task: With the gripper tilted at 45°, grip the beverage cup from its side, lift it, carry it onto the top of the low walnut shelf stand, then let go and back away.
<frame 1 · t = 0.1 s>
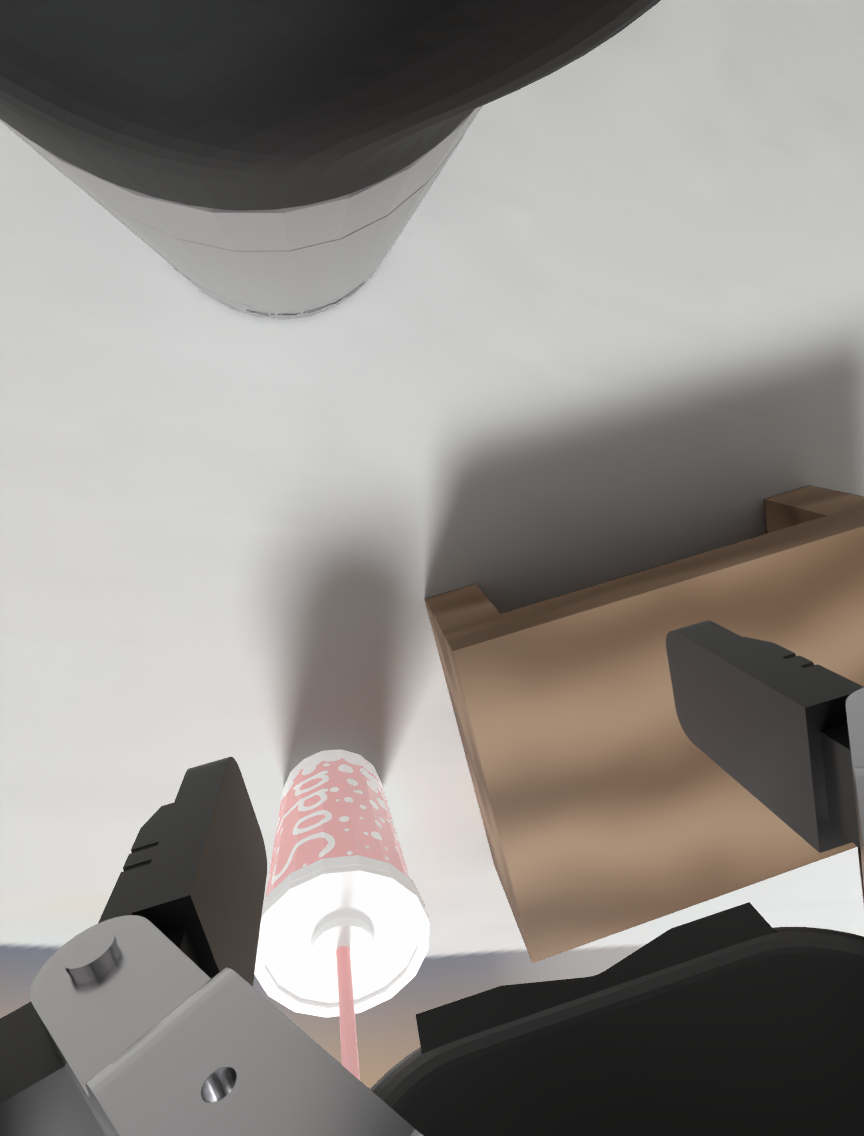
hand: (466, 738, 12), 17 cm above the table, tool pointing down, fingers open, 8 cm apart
beverage cup: (332, 790, 32), on the table
walnut shelf stand: (646, 683, 33), on the table
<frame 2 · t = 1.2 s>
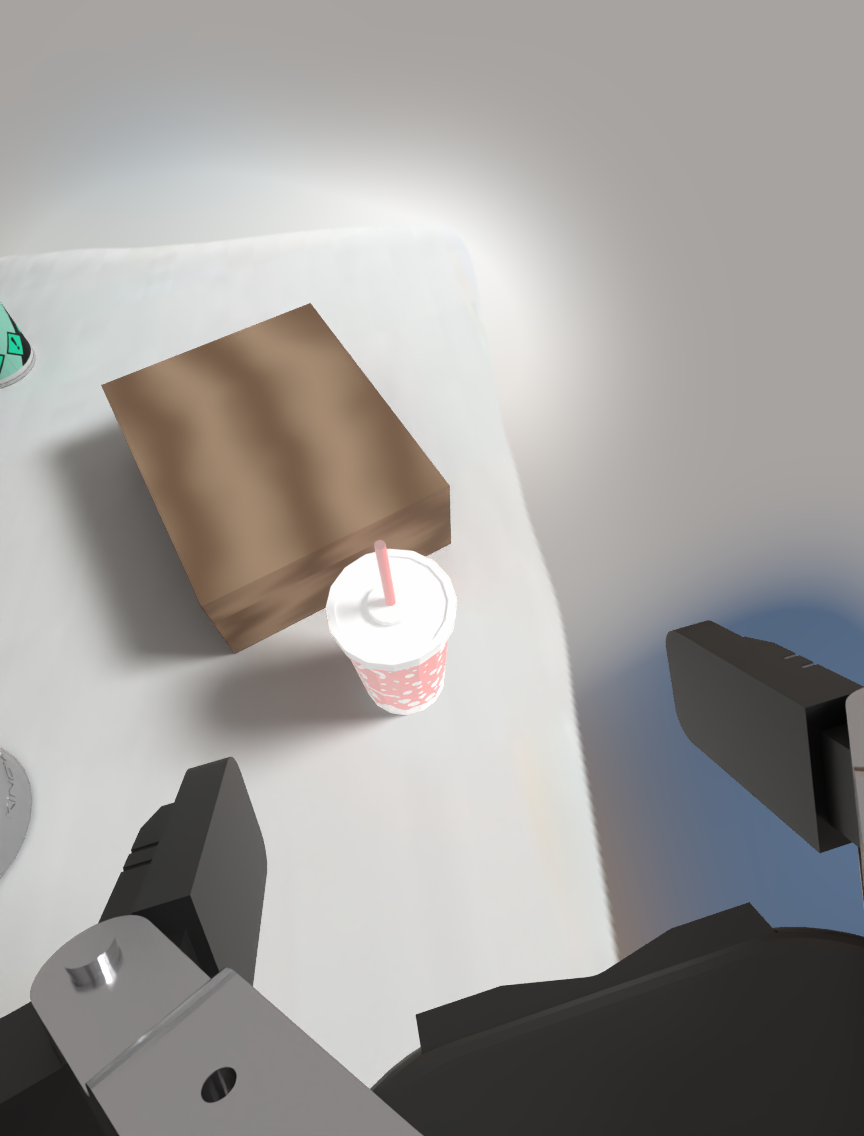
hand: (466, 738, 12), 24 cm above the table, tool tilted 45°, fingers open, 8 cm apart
beverage cup: (405, 678, 39), on the table
walnut shelf stand: (286, 492, 46), on the table
spray can: (2, 367, 54), on the table
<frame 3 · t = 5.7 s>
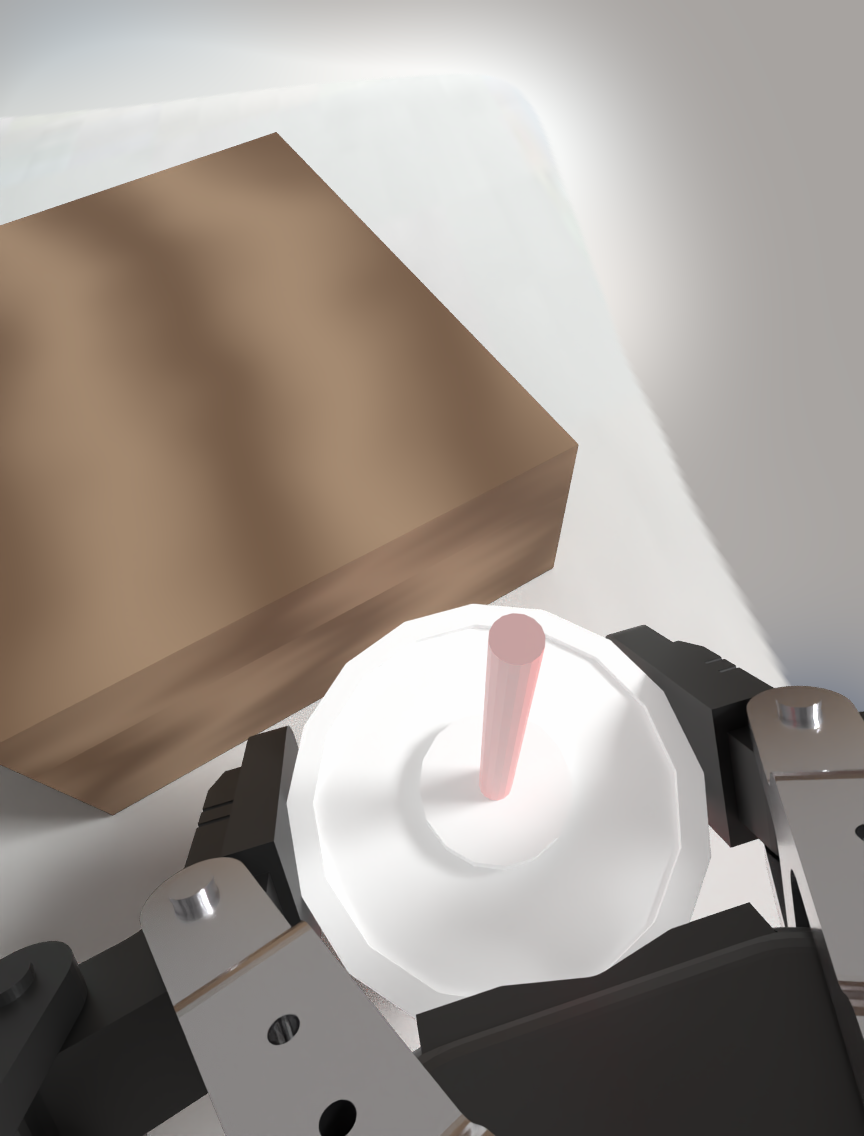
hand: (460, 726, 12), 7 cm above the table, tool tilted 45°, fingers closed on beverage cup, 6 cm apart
beverage cup: (482, 872, 18), on the table, touching gripper
walnut shelf stand: (234, 475, 25), on the table
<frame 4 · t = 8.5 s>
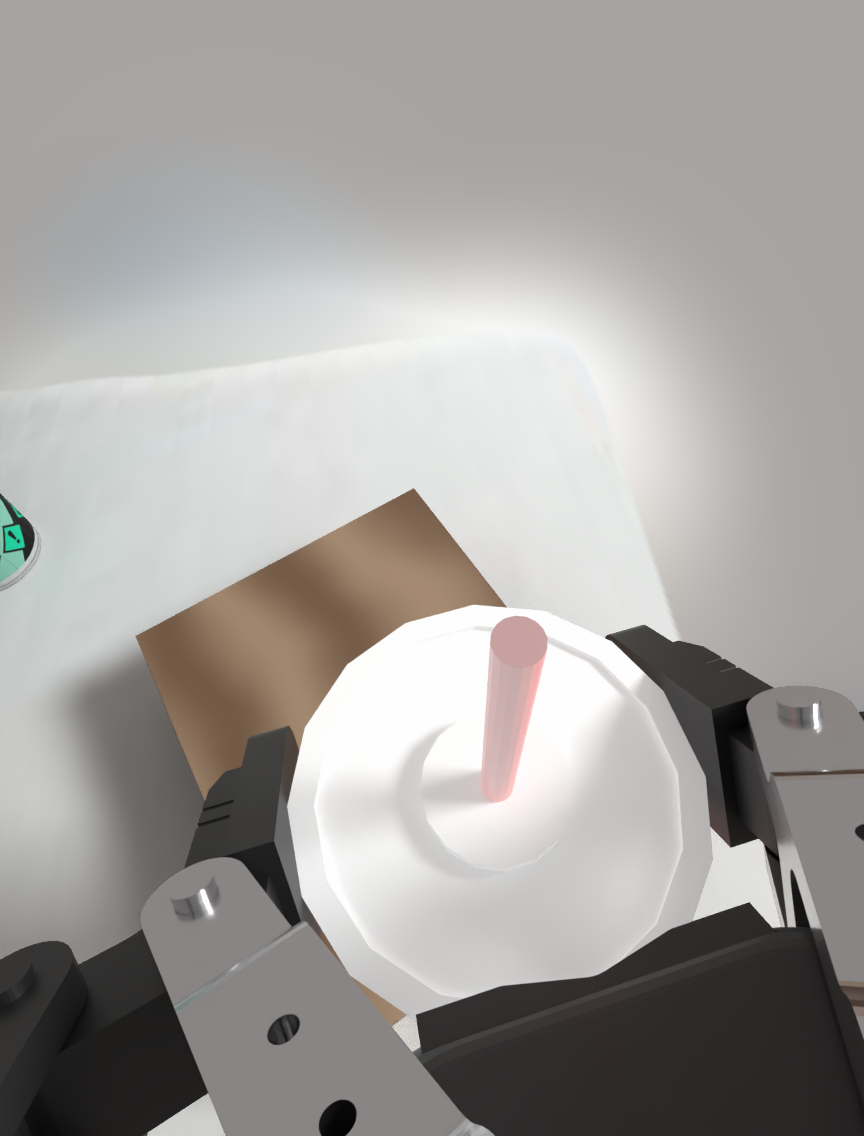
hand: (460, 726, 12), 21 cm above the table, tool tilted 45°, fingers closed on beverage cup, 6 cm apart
beverage cup: (483, 872, 18), point 14 cm above the table, touching gripper
walnut shelf stand: (393, 757, 33), on the table
when the fingers open (14 cm above the table, at t = 11.6 s): beverage cup drops 1 cm, resting on walnut shelf stand.
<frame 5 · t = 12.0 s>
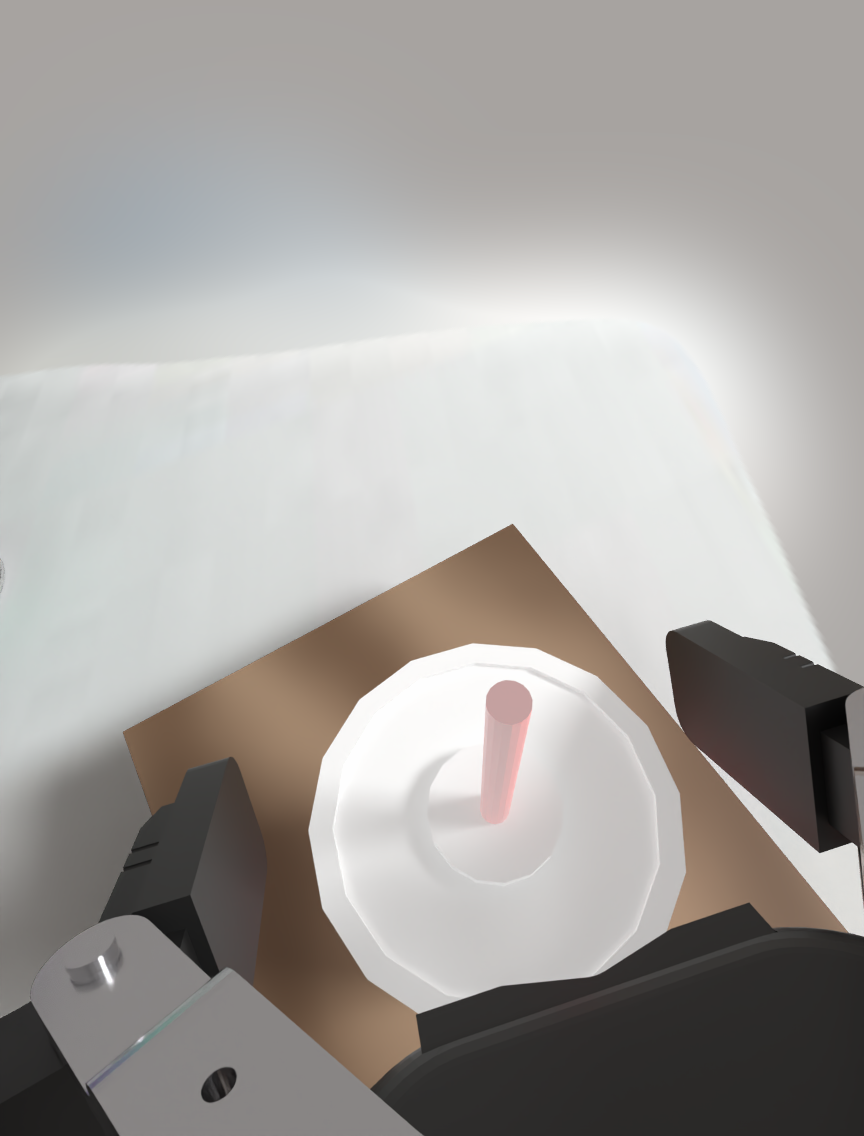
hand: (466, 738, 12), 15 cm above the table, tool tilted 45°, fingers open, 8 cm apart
beverage cup: (484, 883, 19), point 6 cm above the table, touching walnut shelf stand
walnut shelf stand: (479, 899, 24), on the table
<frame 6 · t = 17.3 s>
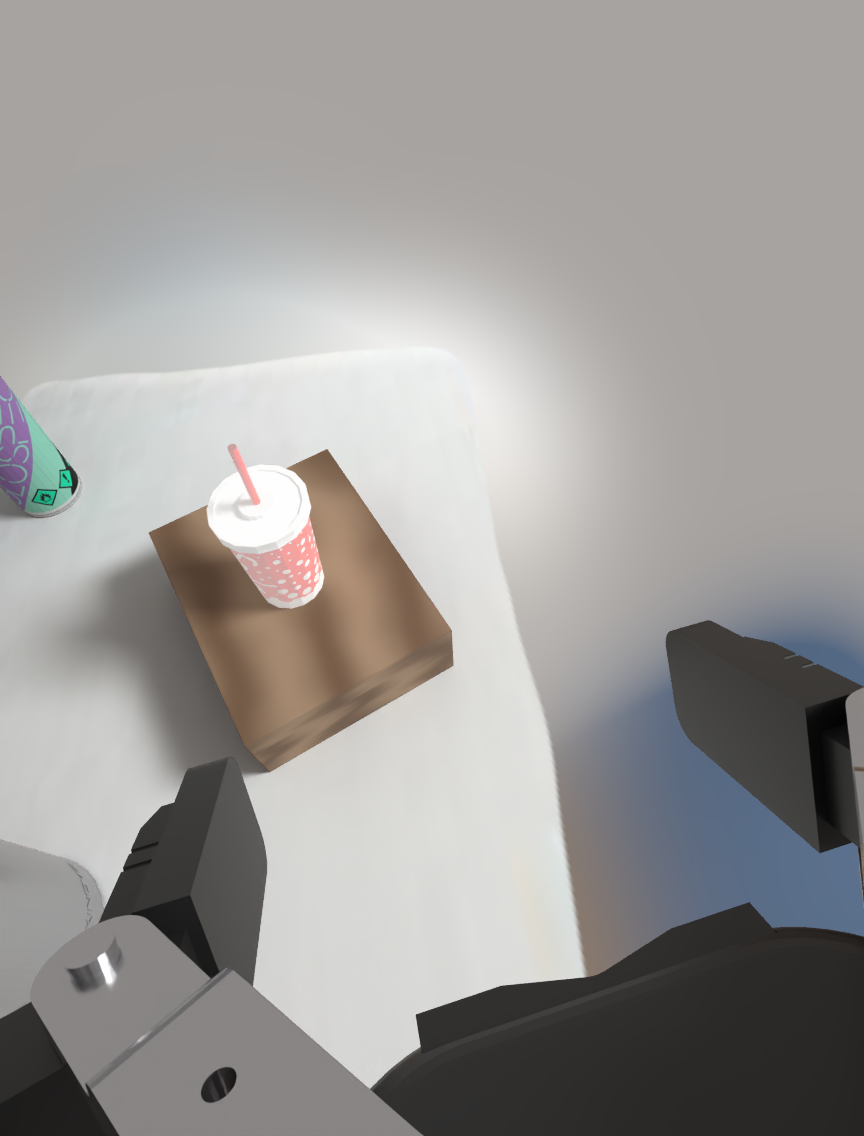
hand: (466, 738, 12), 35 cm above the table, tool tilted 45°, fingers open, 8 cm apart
beverage cup: (292, 581, 48), point 6 cm above the table, touching walnut shelf stand
walnut shelf stand: (308, 617, 53), on the table
spray can: (52, 494, 61), on the table
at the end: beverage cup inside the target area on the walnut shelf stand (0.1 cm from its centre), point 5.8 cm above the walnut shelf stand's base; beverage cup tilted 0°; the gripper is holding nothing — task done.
